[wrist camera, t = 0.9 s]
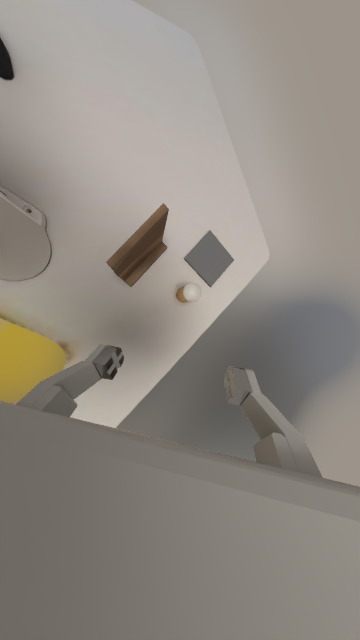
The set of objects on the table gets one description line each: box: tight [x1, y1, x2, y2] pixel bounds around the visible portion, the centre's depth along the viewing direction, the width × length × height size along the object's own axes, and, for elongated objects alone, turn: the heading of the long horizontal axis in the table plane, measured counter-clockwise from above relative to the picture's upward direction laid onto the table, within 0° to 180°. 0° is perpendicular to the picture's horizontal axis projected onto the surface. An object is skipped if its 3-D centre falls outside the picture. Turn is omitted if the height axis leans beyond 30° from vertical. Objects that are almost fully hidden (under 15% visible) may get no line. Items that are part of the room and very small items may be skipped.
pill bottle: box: [176, 282, 201, 302], centre depth 33 cm, size 4×4×8 cm
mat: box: [184, 230, 234, 287], centre depth 37 cm, size 11×11×1 cm
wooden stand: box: [106, 203, 169, 287], centre depth 27 cm, size 5×14×12 cm, turn 138°
